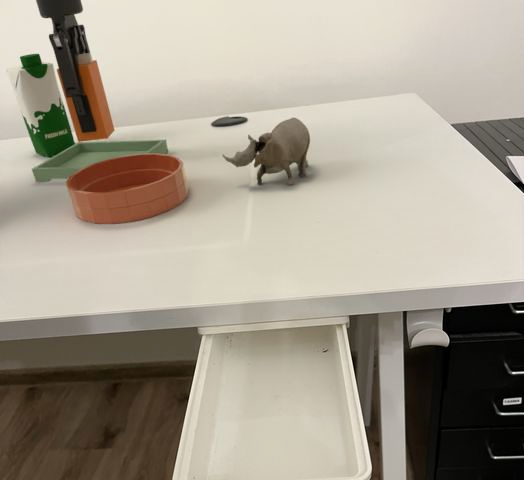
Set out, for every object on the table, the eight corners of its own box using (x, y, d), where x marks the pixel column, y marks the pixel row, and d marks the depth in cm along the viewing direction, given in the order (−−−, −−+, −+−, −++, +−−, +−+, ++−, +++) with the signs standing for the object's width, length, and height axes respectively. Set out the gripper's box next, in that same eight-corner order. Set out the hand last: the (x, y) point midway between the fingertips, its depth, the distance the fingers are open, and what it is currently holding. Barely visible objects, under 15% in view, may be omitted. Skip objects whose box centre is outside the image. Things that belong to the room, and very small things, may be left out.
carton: (78, 141, 108) (53, 59, 100) (86, 133, 113) (63, 54, 105) (107, 138, 108) (85, 55, 99) (114, 130, 113) (94, 50, 104)
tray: (35, 181, 110) (31, 169, 109) (81, 153, 124) (78, 142, 122) (130, 180, 104) (127, 167, 103) (168, 151, 118) (165, 139, 116)
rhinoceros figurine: (341, 152, 96) (295, 87, 86) (300, 216, 95) (247, 159, 85) (312, 149, 102) (264, 88, 92) (272, 210, 101) (220, 155, 91)
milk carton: (46, 159, 123) (13, 60, 111) (30, 153, 128) (-3, 58, 117) (82, 148, 127) (53, 51, 115) (64, 143, 133) (36, 50, 121)
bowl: (54, 226, 89) (42, 193, 86) (111, 183, 104) (103, 154, 101) (160, 228, 84) (152, 193, 81) (204, 183, 99) (199, 152, 95)
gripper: (59, -10, 88) (100, 138, 102) (91, -17, 103) (122, 113, 117) (14, -4, 89) (60, 142, 102) (52, -12, 104) (88, 117, 117)
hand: (93, 126), depth 109 cm, fingers closed on carton, 6 cm apart
